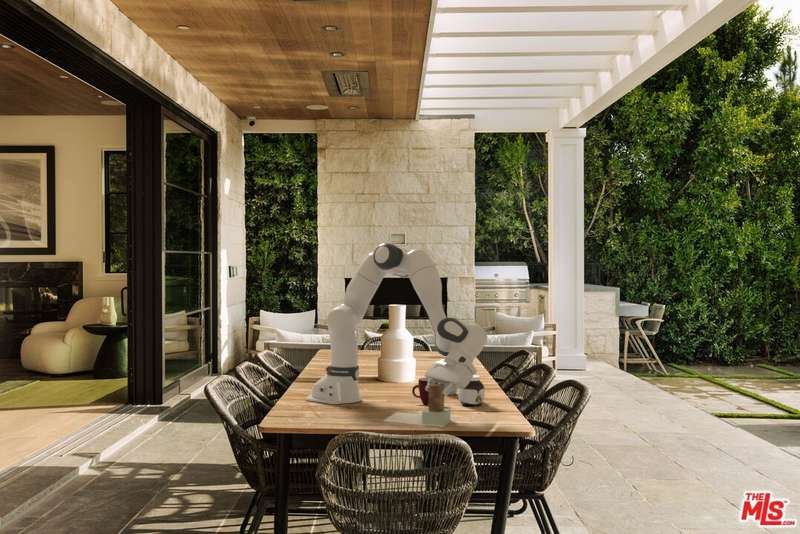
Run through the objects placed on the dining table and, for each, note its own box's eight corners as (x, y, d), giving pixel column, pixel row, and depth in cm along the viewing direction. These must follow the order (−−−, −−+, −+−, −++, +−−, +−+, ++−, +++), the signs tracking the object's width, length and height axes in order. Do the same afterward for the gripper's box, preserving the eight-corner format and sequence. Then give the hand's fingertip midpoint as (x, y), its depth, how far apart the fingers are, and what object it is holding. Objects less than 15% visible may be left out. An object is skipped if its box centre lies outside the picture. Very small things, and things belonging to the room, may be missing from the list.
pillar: (428, 411, 239) (428, 385, 239) (432, 408, 243) (432, 383, 243) (440, 412, 237) (440, 386, 237) (444, 409, 241) (444, 384, 241)
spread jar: (464, 407, 269) (465, 378, 269) (451, 402, 280) (451, 373, 279) (491, 405, 274) (491, 376, 274) (477, 400, 284) (477, 372, 284)
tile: (382, 423, 240) (382, 420, 240) (396, 414, 254) (396, 412, 254) (442, 429, 233) (442, 426, 233) (453, 420, 247) (453, 417, 247)
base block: (422, 423, 238) (422, 411, 237) (428, 418, 245) (428, 407, 245) (444, 425, 235) (444, 413, 235) (450, 420, 242) (450, 409, 242)
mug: (412, 406, 271) (412, 380, 271) (412, 401, 279) (412, 377, 279) (438, 406, 271) (439, 381, 271) (437, 402, 279) (438, 377, 279)
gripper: (434, 353, 252) (412, 382, 247) (471, 360, 235) (448, 391, 230) (444, 364, 255) (422, 393, 249) (480, 372, 238) (458, 403, 233)
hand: (435, 392), depth 240 cm, fingers open, 8 cm apart
